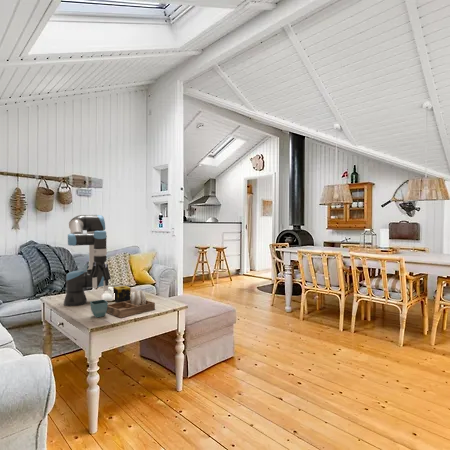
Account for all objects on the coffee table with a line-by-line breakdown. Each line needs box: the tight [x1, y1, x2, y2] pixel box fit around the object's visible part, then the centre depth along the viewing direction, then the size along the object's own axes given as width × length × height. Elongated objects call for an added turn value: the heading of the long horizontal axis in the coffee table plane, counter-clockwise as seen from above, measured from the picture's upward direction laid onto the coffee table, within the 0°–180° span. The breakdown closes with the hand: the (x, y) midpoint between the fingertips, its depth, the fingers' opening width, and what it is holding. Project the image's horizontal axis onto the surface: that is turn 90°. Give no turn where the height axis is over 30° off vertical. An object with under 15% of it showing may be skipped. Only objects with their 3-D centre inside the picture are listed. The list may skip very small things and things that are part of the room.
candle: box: [112, 285, 132, 303], centre depth 244 cm, size 10×10×10 cm
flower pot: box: [89, 299, 109, 318], centre depth 205 cm, size 9×9×9 cm
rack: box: [106, 290, 156, 319], centre depth 217 cm, size 18×26×12 cm
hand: (100, 289), depth 205 cm, fingers open, 13 cm apart
